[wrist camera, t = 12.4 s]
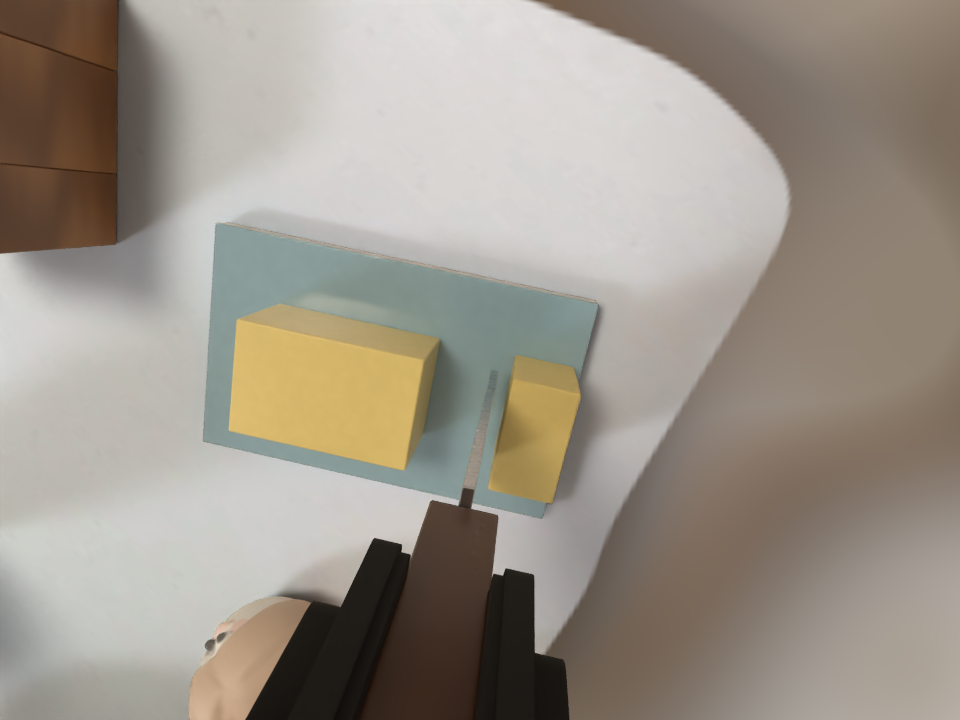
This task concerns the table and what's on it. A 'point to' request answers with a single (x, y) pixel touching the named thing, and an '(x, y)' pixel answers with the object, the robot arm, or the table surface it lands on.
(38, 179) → the knife block
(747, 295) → the table surface
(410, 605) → the knife
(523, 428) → the butter slice
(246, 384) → the butter
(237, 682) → the garlic bulb
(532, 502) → the butter dish
